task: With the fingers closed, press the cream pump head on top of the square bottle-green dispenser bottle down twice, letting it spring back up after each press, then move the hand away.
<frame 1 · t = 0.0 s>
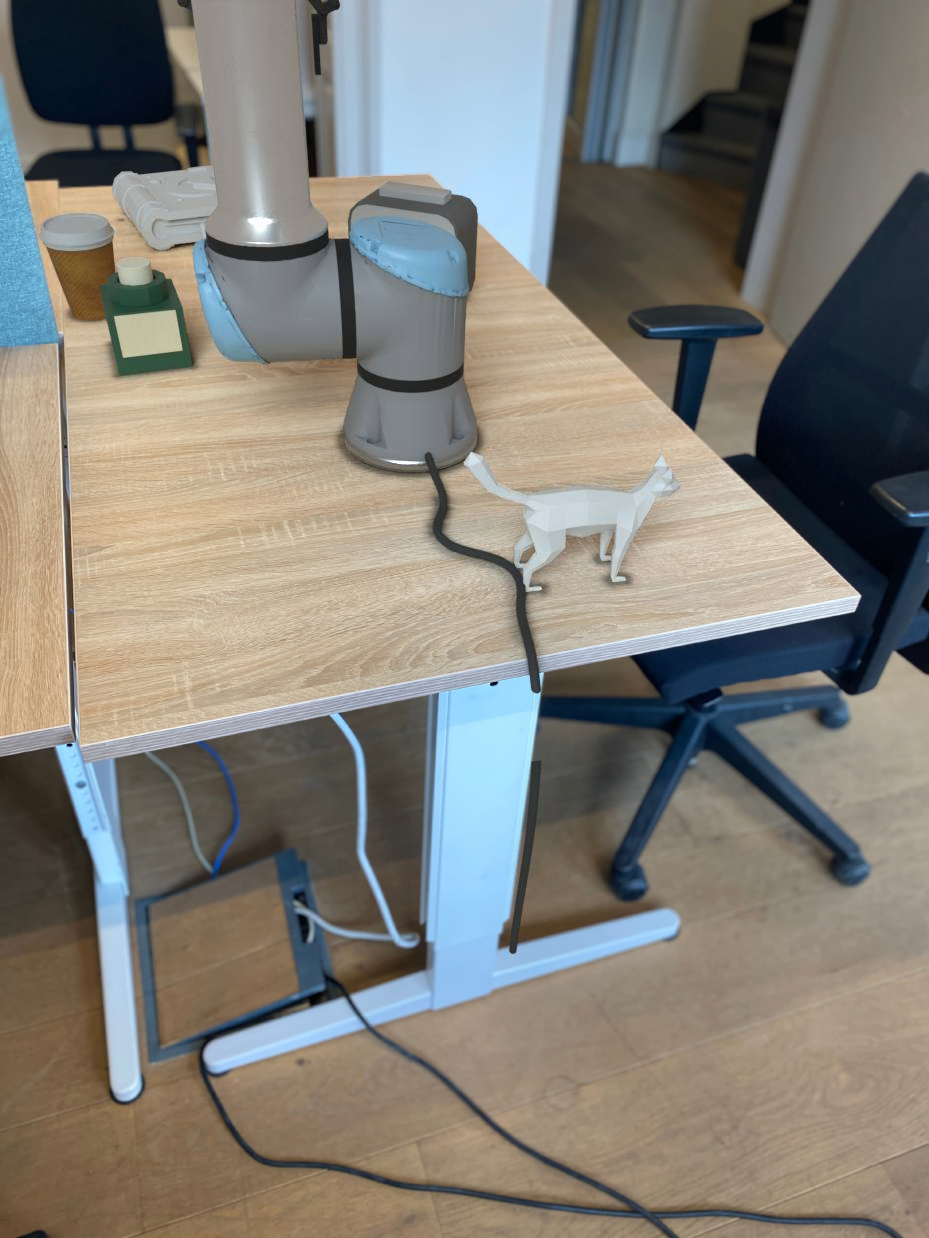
hand: (266, 73, 120), 28 cm above the table, tool pointing down, fingers open, 13 cm apart
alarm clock: (416, 299, 136), on the table
disposable coffee cup: (95, 313, 128), on the table
cat figurine: (561, 576, 86), on the table
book: (190, 230, 155), on the table
pump: (135, 272, 111), point 11 cm above the table, slide at 0.1 cm
bottle label: (149, 333, 111), point 5 cm above the table
dispenser: (151, 355, 118), on the table
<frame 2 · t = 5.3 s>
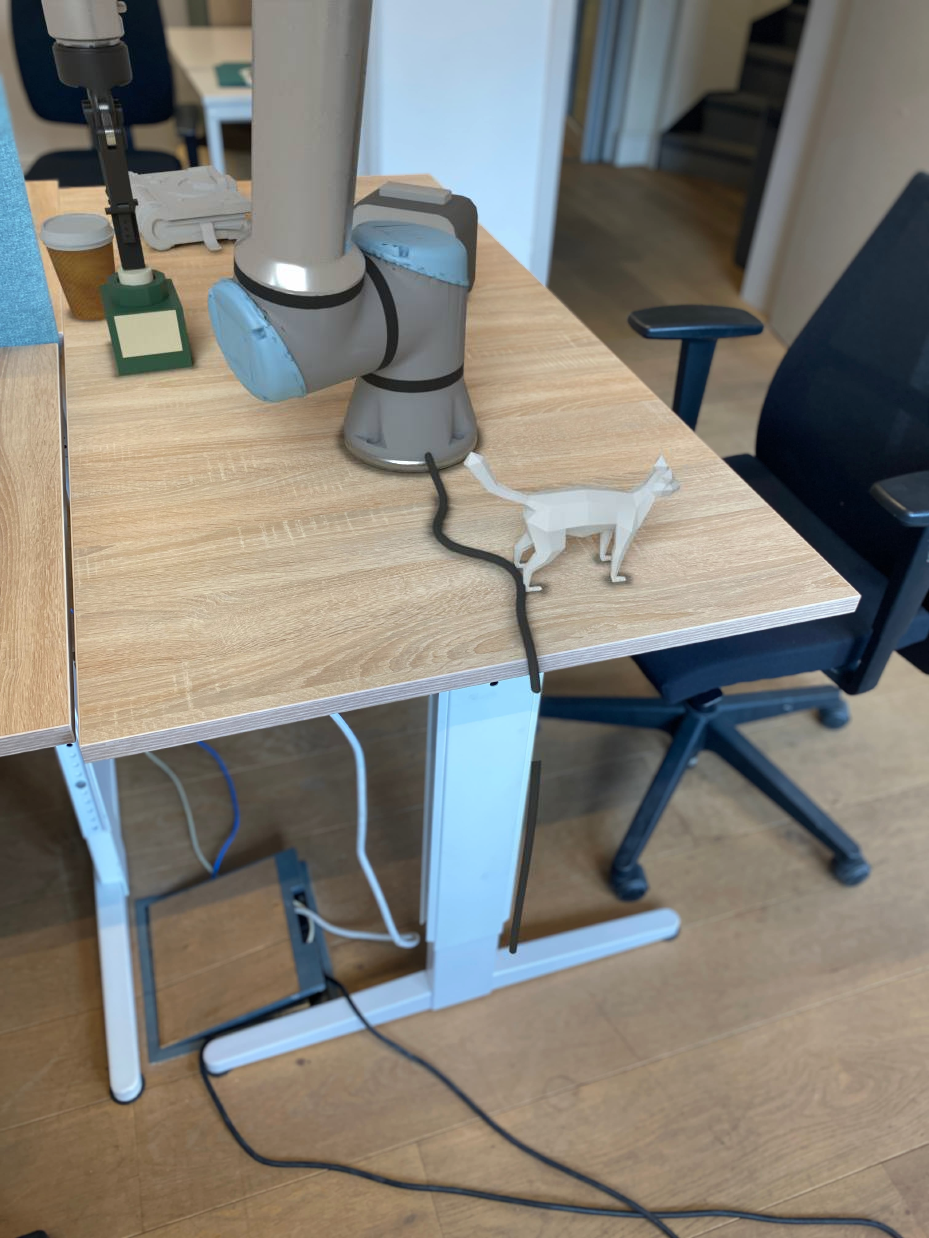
hand: (133, 266, 110), 11 cm above the table, tool pointing down, fingers closed
pump: (136, 278, 111), point 10 cm above the table, slide at -0.7 cm, touching gripper
everything else where it was.
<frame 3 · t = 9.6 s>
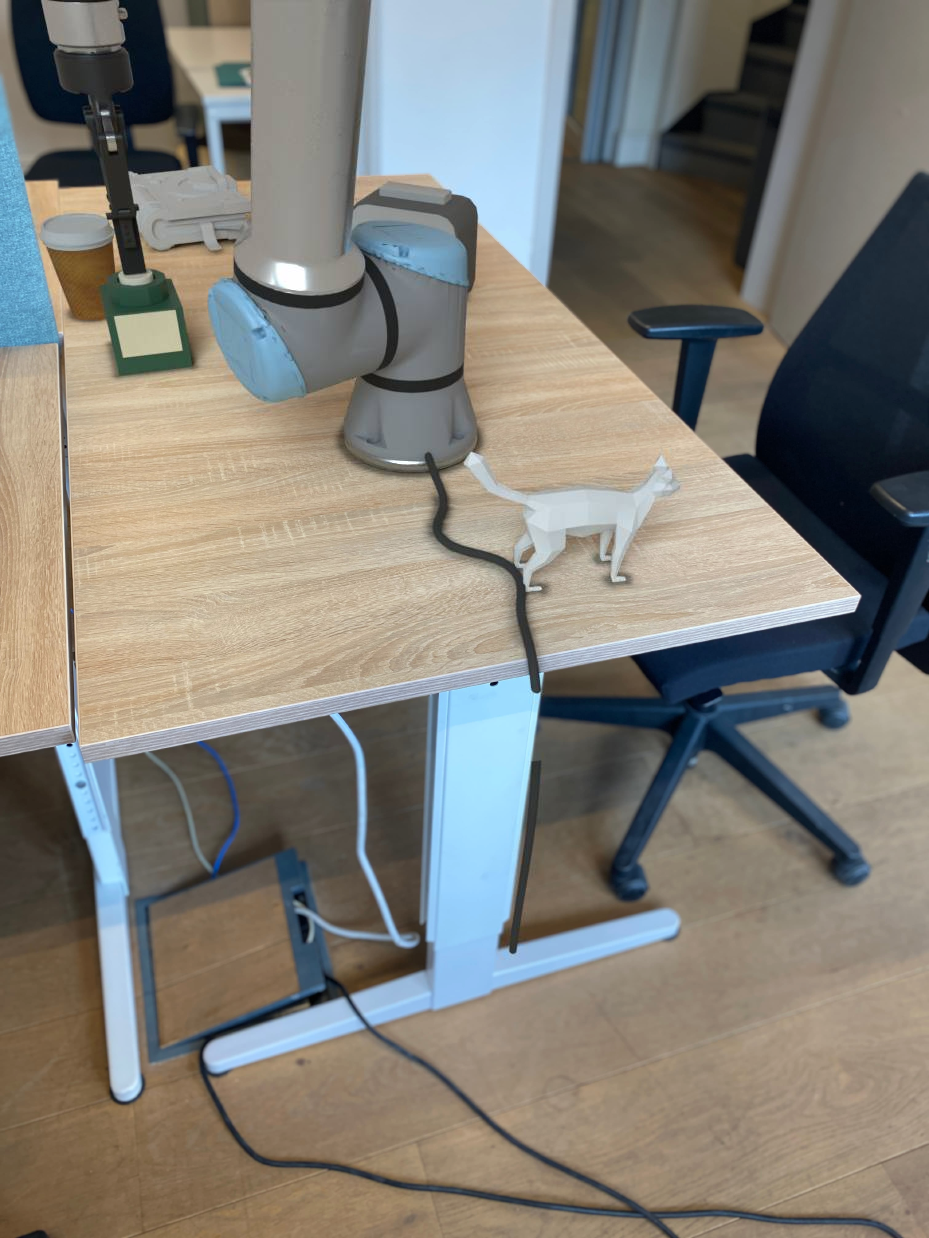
hand: (134, 271, 111), 11 cm above the table, tool pointing down, fingers closed
pump: (137, 283, 111), point 9 cm above the table, slide at -1.3 cm, touching gripper
everything else where it was.
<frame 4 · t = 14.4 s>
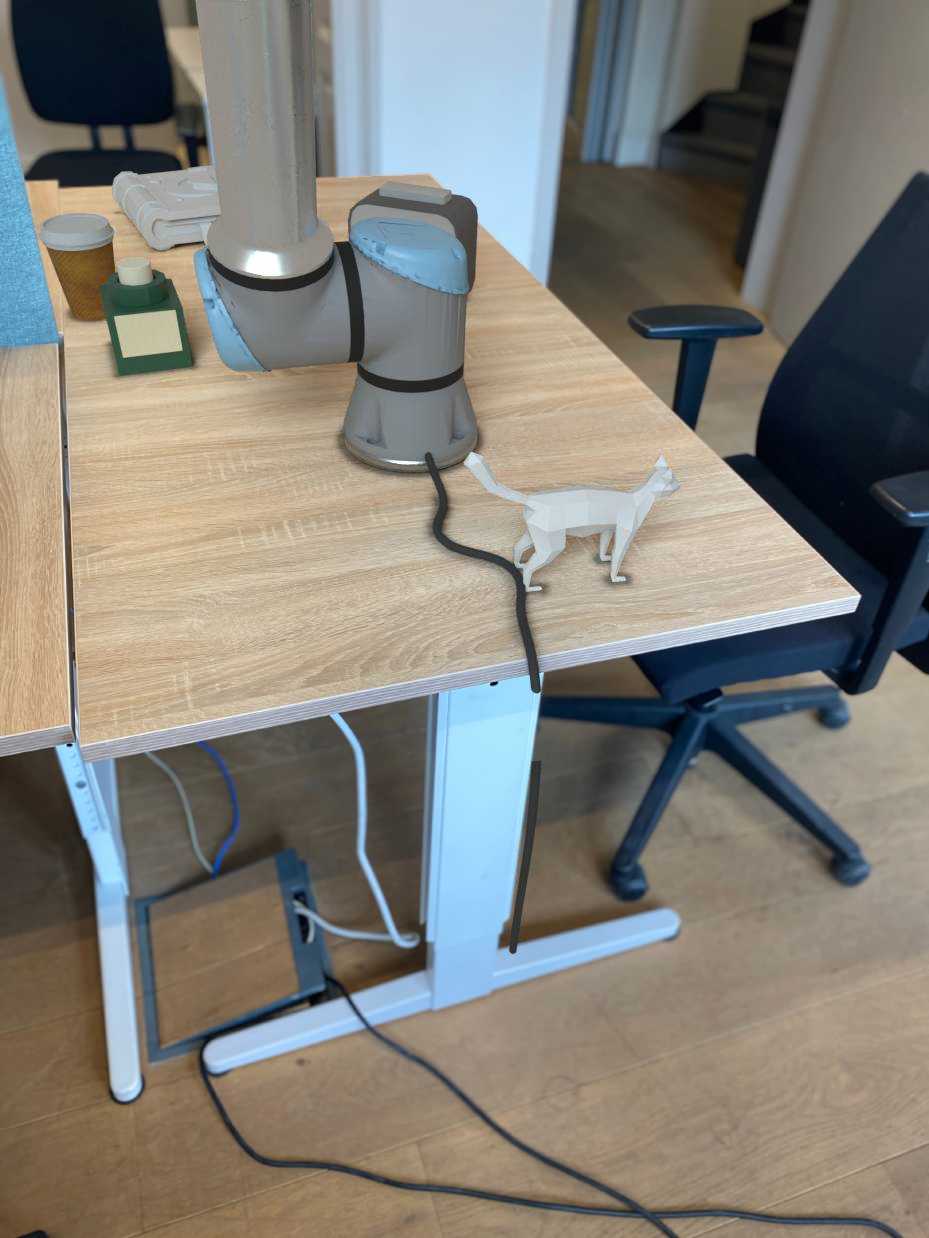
hand: (224, 71, 108), 30 cm above the table, tool pointing down, fingers closed
pump: (135, 272, 111), point 11 cm above the table, slide at 0.1 cm
everything else where it was.
at the end: pump pushed in 1.3 cm at the most during the clip, back to where it started at the end; pump slide at 0.1 cm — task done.
